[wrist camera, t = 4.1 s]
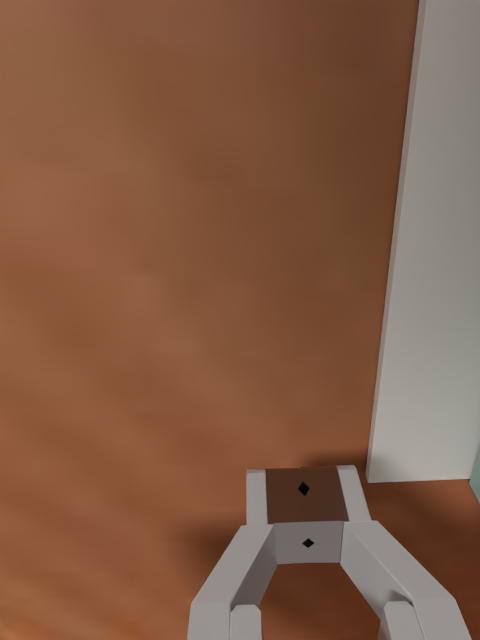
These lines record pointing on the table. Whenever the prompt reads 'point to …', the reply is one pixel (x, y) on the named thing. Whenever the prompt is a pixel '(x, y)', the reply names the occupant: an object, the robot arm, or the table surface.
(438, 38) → the card
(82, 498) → the table surface
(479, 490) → the gate panel
